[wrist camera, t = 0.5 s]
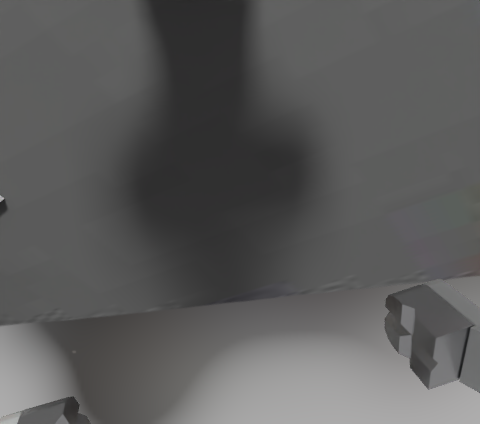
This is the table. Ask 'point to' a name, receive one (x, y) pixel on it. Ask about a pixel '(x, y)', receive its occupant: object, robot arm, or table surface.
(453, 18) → the table surface
